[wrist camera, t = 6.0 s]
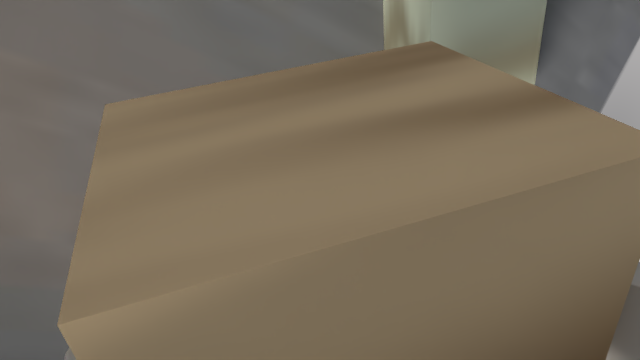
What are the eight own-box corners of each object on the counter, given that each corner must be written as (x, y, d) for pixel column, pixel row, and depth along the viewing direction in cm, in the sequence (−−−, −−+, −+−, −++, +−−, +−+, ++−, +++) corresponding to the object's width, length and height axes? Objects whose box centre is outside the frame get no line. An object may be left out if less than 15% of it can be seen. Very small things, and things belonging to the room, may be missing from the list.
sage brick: (381, -31, 23) (432, -23, 19) (484, -45, 25) (552, -40, 21) (384, 117, 27) (427, 150, 23) (473, 98, 29) (528, 126, 25)
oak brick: (104, 105, 8) (58, 324, 4) (431, 40, 9) (678, 146, 5) (210, 400, 12) (246, 663, 8) (423, 326, 13) (552, 516, 9)
